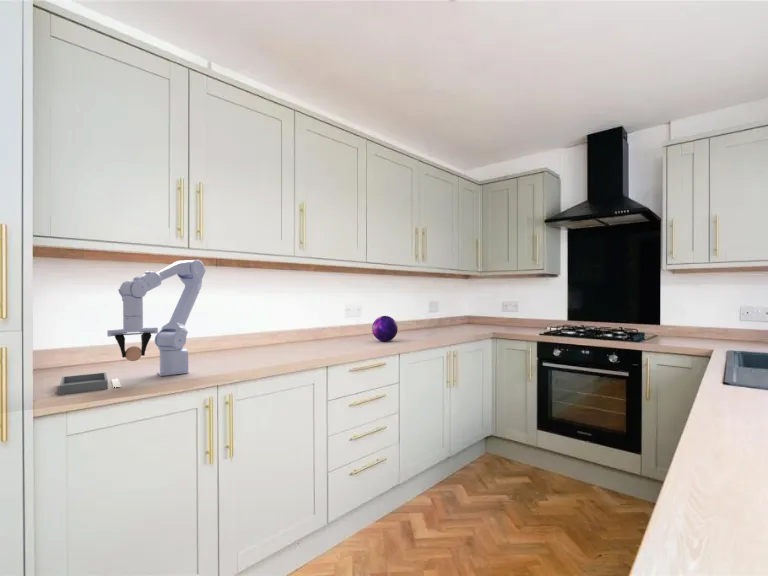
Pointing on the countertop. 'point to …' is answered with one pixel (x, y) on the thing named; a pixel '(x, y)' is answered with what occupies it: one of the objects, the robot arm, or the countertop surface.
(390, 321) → the decorative orb
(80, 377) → the tray
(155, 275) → the robot arm
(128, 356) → the ball
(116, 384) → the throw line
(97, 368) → the countertop surface
